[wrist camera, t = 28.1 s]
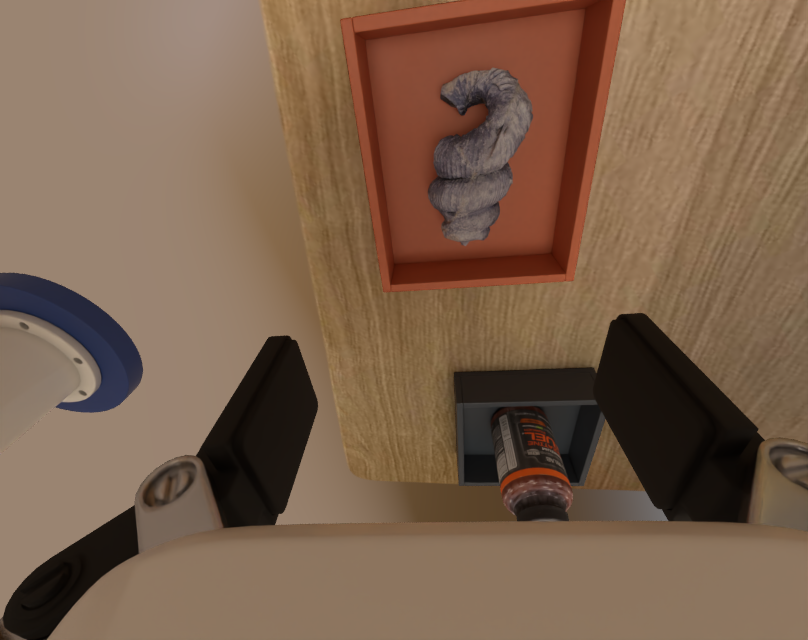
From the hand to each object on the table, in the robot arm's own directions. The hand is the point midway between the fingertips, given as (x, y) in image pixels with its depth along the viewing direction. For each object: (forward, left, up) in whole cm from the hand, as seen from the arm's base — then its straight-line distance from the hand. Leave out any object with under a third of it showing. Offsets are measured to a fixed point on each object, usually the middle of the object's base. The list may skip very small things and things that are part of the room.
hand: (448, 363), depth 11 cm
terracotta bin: (+2, +3, -18) cm, 18 cm away
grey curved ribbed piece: (+2, +3, -17) cm, 18 cm away
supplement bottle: (+7, -23, -17) cm, 30 cm away
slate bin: (+7, -23, -18) cm, 30 cm away
